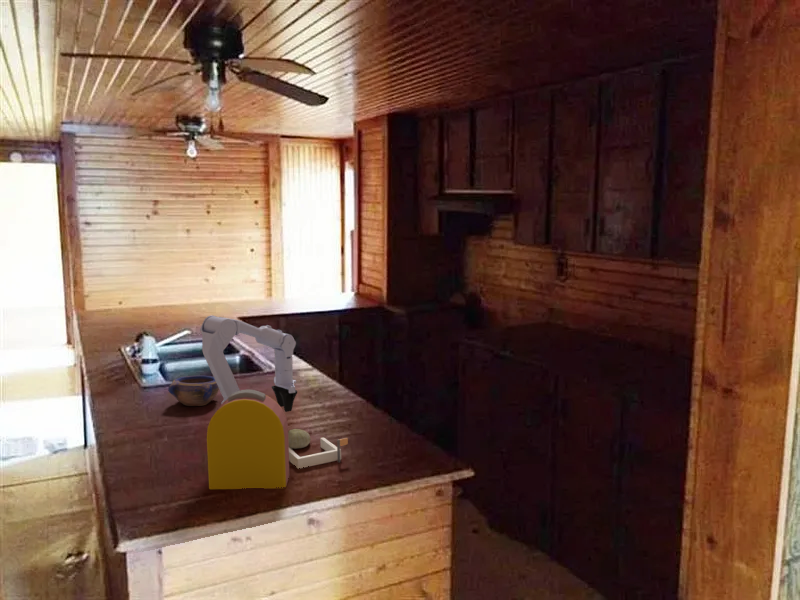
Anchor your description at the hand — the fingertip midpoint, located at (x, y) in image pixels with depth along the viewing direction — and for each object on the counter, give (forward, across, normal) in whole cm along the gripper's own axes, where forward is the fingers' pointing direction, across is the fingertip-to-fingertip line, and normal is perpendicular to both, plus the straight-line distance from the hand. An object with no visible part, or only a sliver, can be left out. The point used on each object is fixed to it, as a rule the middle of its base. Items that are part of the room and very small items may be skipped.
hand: (284, 408), depth 224 cm
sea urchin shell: (+10, -10, 0) cm, 14 cm away
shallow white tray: (+9, -23, -1) cm, 25 cm away
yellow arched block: (+10, -30, +22) cm, 38 cm away
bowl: (+10, +52, +16) cm, 56 cm away
